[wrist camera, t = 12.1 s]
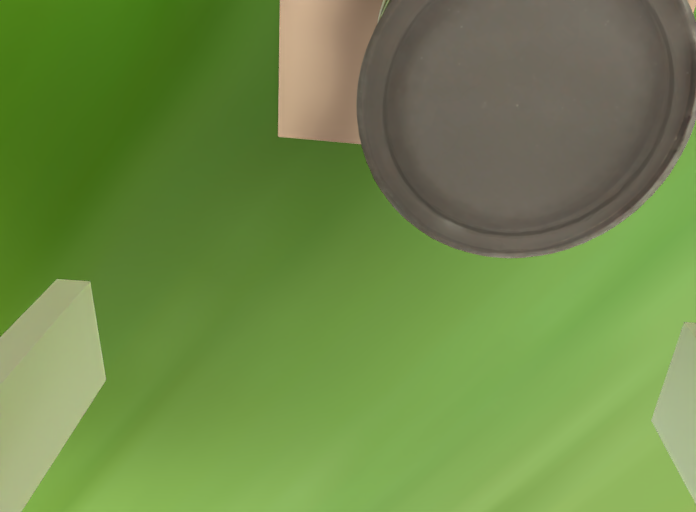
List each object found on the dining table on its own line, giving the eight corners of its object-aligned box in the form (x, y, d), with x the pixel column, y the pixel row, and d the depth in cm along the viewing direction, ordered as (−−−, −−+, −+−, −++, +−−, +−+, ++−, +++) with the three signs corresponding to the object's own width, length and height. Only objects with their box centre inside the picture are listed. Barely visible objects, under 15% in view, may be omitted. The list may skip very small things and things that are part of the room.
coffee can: (403, 159, 35) (400, 287, 23) (352, -40, 31) (314, -18, 18) (597, 112, 33) (712, 223, 20) (571, -108, 29) (698, -137, 16)
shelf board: (284, 126, 37) (267, 153, 32) (289, -168, 30) (268, -185, 26) (635, 157, 36) (667, 189, 31) (719, -140, 29) (774, -153, 25)
